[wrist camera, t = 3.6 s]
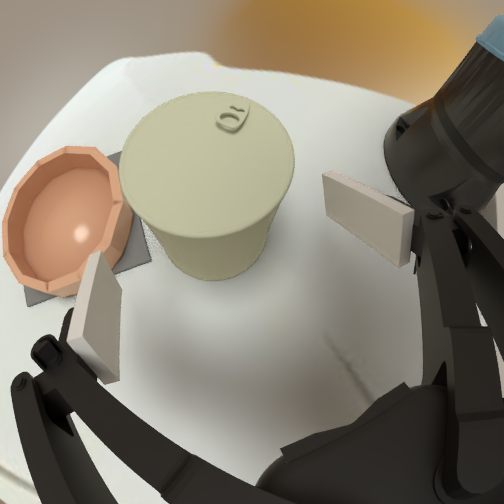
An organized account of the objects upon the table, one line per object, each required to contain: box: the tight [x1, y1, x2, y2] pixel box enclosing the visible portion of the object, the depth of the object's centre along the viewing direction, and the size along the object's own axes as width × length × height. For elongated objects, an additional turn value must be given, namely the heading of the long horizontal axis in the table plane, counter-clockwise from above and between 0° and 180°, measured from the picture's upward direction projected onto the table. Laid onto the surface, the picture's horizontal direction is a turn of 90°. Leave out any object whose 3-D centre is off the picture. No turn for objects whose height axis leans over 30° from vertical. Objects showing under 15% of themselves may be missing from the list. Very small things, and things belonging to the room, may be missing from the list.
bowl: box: [2, 146, 133, 298], centre depth 22 cm, size 13×13×3 cm
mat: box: [24, 151, 151, 307], centre depth 24 cm, size 14×12×1 cm
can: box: [119, 92, 294, 281], centre depth 19 cm, size 9×9×12 cm
